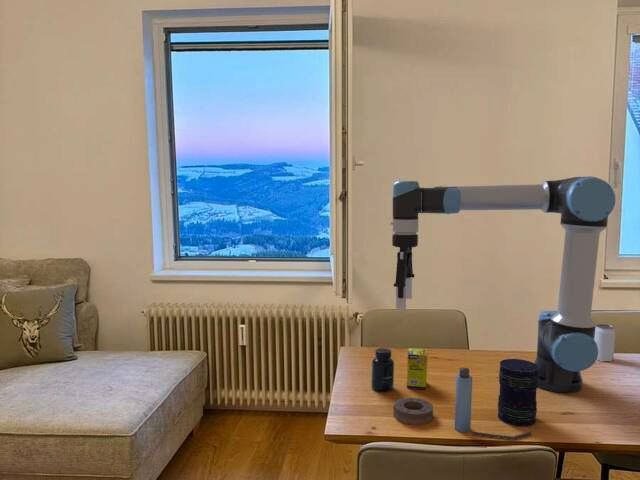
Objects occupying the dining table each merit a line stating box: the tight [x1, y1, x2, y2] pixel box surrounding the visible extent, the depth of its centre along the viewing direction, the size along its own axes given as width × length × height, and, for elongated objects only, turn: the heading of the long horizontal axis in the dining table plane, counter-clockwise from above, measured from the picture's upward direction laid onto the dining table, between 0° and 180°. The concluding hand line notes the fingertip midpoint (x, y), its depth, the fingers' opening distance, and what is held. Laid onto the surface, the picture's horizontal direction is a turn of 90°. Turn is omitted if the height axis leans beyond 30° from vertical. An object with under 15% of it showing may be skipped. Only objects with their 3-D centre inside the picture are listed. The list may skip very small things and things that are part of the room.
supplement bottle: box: [370, 347, 395, 393], centre depth 162 cm, size 7×7×12 cm
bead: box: [393, 396, 434, 426], centre depth 144 cm, size 10×10×3 cm
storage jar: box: [497, 358, 539, 428], centre depth 142 cm, size 10×10×15 cm
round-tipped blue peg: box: [454, 367, 473, 433], centre depth 136 cm, size 4×4×16 cm
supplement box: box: [406, 347, 428, 390], centre depth 165 cm, size 6×6×11 cm
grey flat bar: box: [472, 431, 533, 441], centre depth 133 cm, size 14×4×1 cm, turn 75°
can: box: [594, 323, 616, 362], centre depth 188 cm, size 6×6×12 cm
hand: (404, 303), depth 159 cm, fingers open, 13 cm apart
